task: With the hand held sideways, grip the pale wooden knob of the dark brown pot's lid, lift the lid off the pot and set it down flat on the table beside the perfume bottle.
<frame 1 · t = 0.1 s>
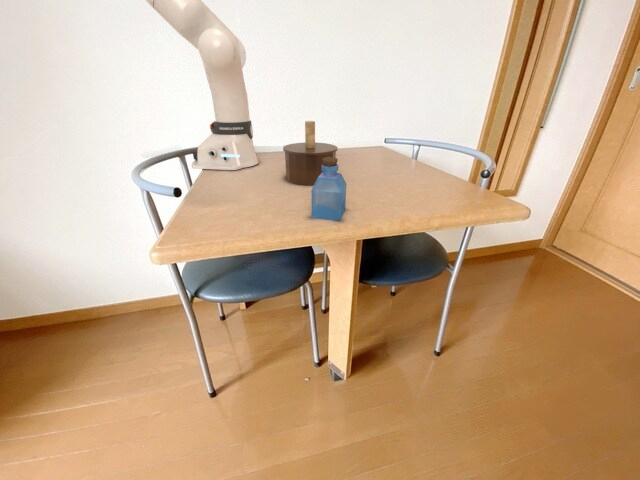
dark brown pot: (310, 178, 90), on the table
lid: (310, 149, 86), point 8 cm above the table, touching dark brown pot
perfume bottle: (328, 214, 66), on the table
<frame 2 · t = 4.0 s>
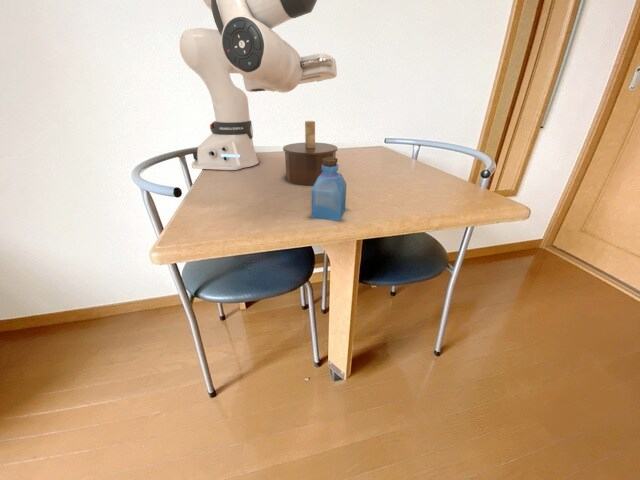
hand: (301, 80, 73), 26 cm above the table, tool horizontal, fingers open, 8 cm apart
nothing on the table moved.
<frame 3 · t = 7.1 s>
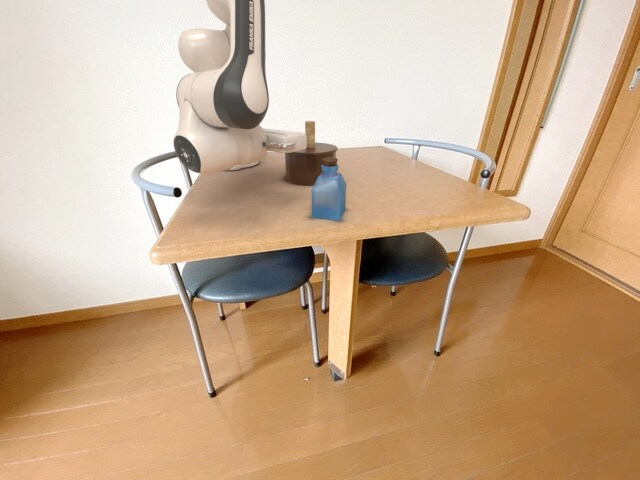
hand: (287, 134, 76), 14 cm above the table, tool horizontal, fingers open, 8 cm apart
nothing on the table moved.
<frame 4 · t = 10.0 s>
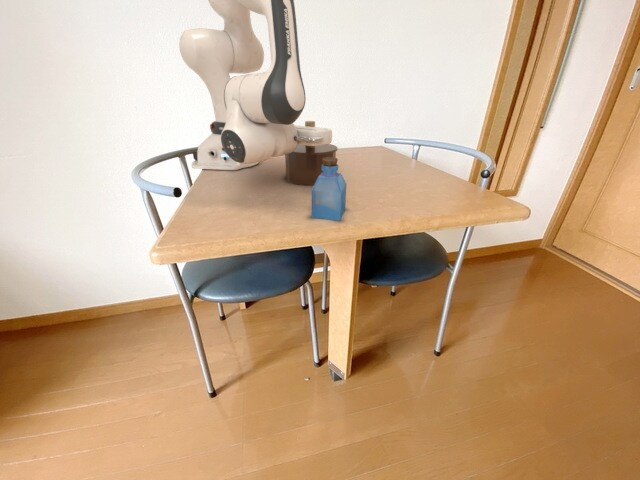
hand: (311, 130, 84), 14 cm above the table, tool horizontal, fingers closed on lid, 3 cm apart
lid: (310, 149, 86), point 9 cm above the table, touching dark brown pot, gripper
everything else where it was.
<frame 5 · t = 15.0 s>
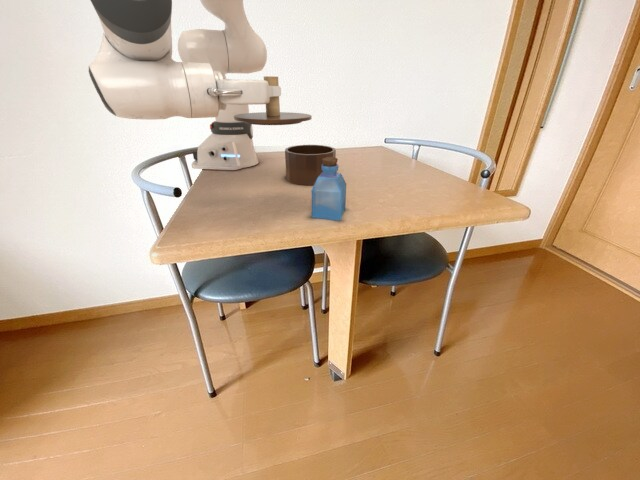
hand: (275, 90, 59), 24 cm above the table, tool horizontal, fingers closed on lid, 3 cm apart
lid: (273, 118, 61), point 19 cm above the table, touching gripper
everything else where it was.
when the fingers open (6 cm above the table, at t = 20.0 s): lid stays where it is, point 1 cm above the table.
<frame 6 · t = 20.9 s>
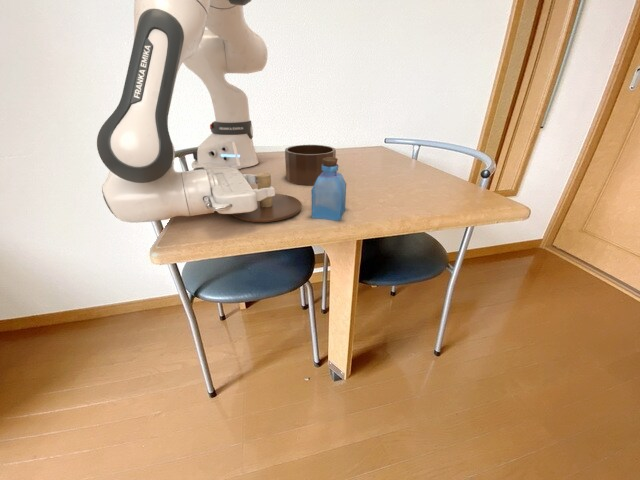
hand: (268, 184, 65), 6 cm above the table, tool horizontal, fingers open, 8 cm apart
lid: (266, 207, 67), point 1 cm above the table
everything else where it was.
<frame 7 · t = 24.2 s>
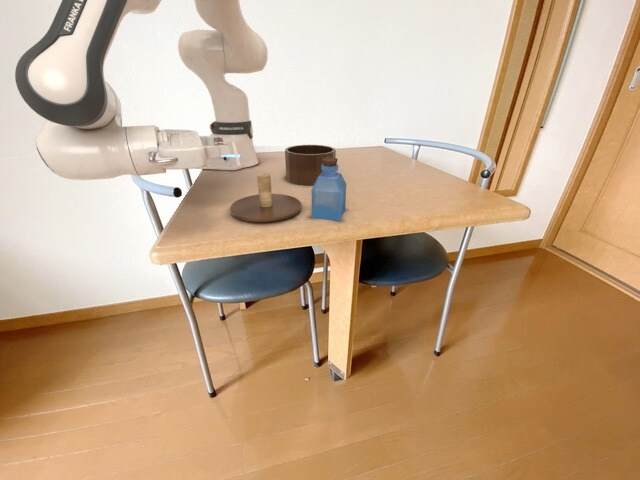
hand: (225, 145, 61), 14 cm above the table, tool horizontal, fingers open, 8 cm apart
nothing on the table moved.
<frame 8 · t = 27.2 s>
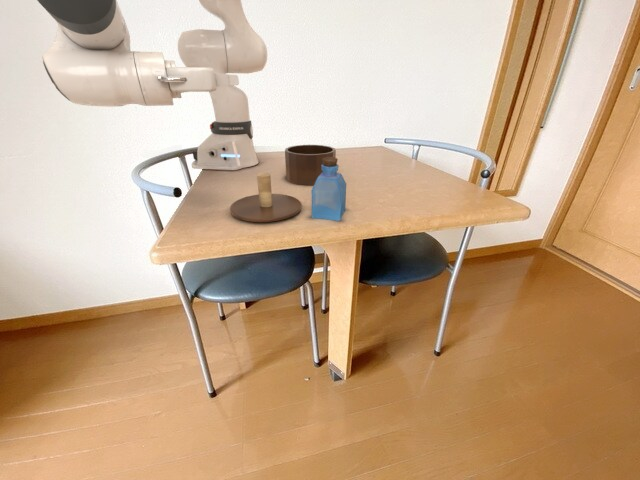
hand: (233, 80, 60), 26 cm above the table, tool horizontal, fingers open, 8 cm apart
nothing on the table moved.
at the end: lid point 0.6 cm above the table; lid 14.3 cm from the perfume bottle (horizontally); lid tilted 0° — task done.
